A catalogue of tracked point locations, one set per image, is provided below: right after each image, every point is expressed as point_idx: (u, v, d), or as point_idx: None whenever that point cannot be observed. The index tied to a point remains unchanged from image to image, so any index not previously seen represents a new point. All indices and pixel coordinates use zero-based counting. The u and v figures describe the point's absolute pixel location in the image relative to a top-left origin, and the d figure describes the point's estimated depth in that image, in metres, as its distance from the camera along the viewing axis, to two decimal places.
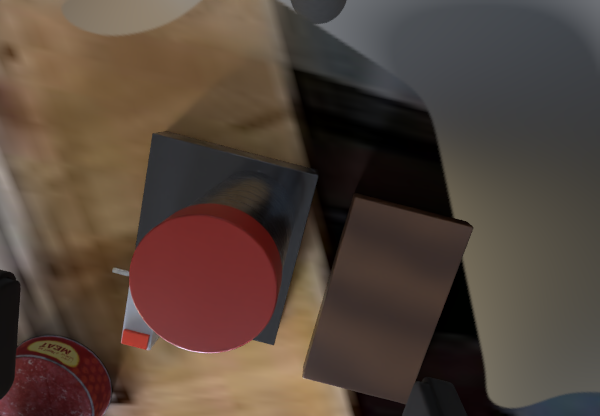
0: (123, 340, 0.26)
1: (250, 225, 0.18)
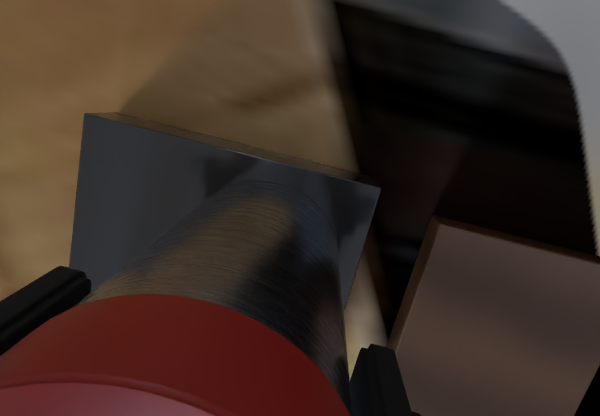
0: None
1: (280, 380, 0.05)
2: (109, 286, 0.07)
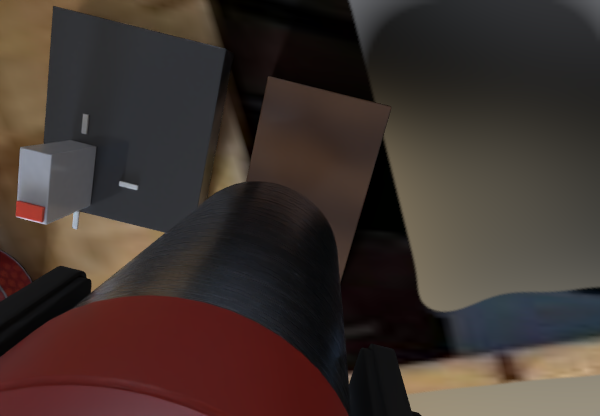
0: (17, 212, 0.25)
1: (279, 382, 0.05)
2: (108, 287, 0.07)
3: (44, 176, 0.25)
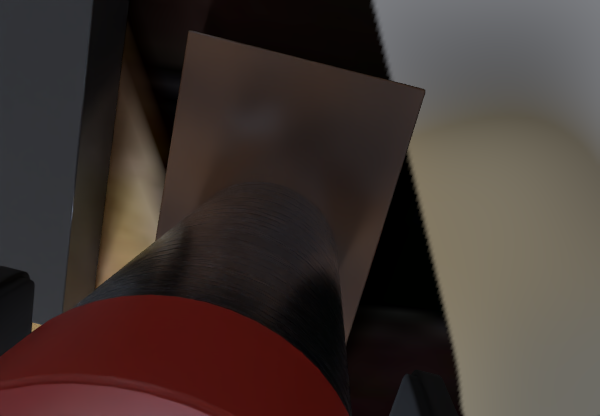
0: None
1: (279, 382, 0.05)
2: (108, 287, 0.07)
3: None
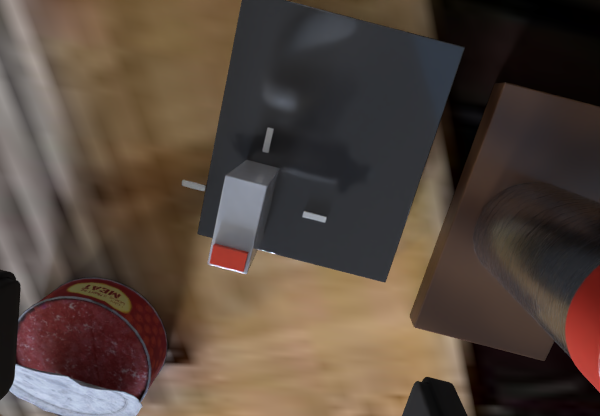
0: (212, 259, 0.19)
1: None
2: None
3: (253, 213, 0.19)
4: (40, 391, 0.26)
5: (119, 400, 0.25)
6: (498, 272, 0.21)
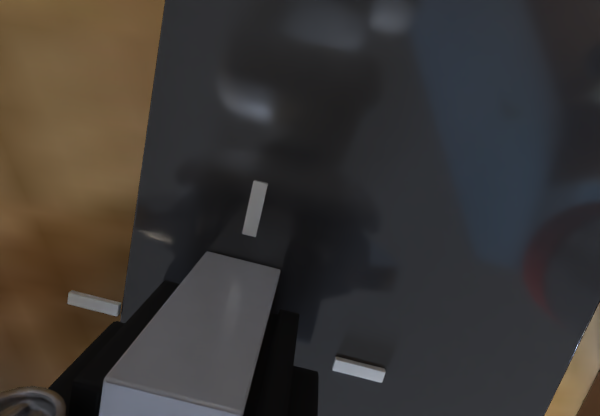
0: None
1: None
2: None
3: None
4: None
5: None
6: None
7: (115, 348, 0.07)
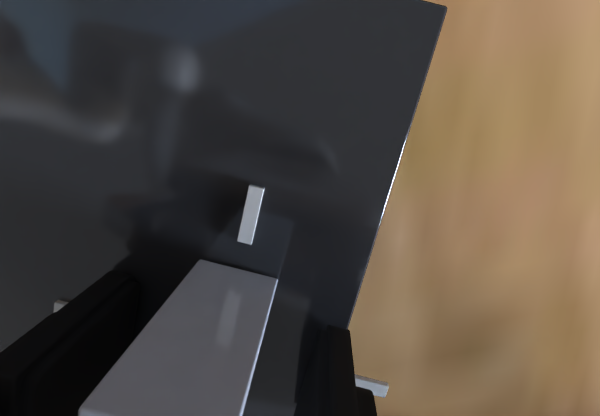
0: None
1: None
2: None
3: None
4: None
5: None
6: None
7: (39, 336, 0.07)
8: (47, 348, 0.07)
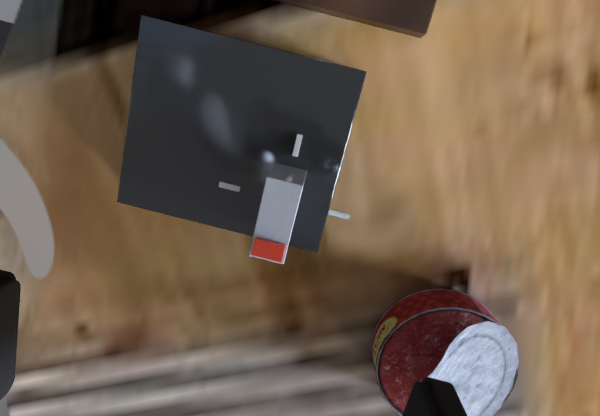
0: (254, 251, 0.22)
1: None
2: None
3: (291, 210, 0.21)
4: (467, 409, 0.27)
5: (480, 341, 0.26)
6: None
7: None
8: None
